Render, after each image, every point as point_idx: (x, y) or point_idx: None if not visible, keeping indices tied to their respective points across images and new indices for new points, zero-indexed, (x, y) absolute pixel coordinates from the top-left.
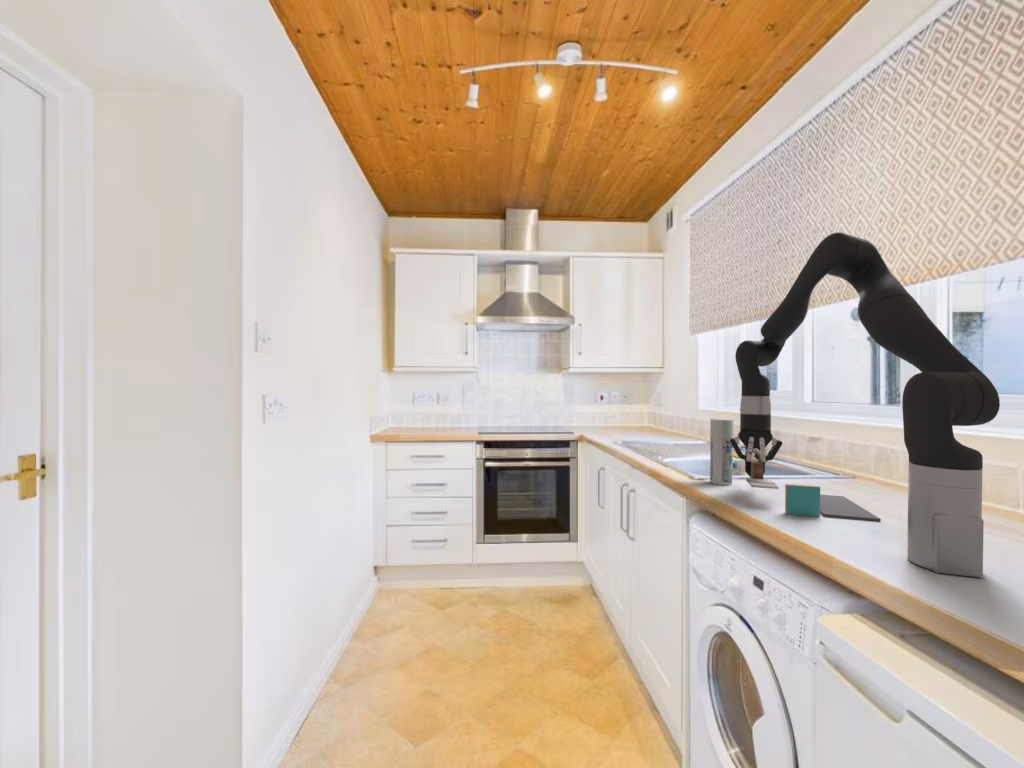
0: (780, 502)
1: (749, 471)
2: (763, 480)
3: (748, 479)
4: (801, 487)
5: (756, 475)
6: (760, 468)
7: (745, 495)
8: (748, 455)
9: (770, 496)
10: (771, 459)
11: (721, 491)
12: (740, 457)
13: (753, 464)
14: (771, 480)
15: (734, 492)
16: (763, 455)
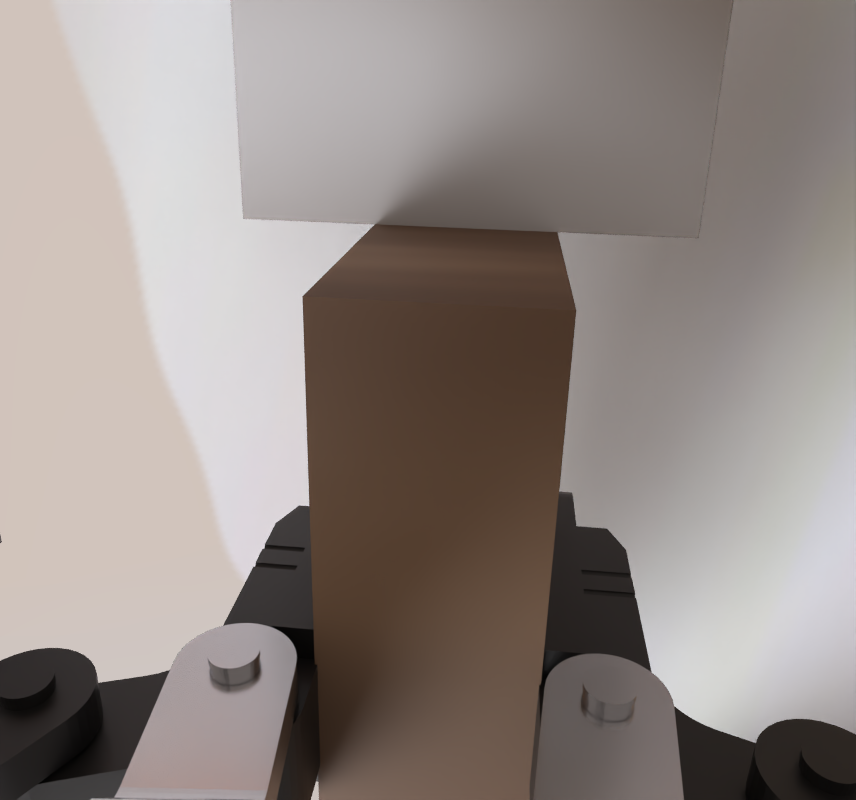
0: (227, 89)
1: (563, 519)
2: (399, 83)
3: (692, 93)
4: None
5: (497, 245)
6: (400, 270)
7: (590, 363)
8: (627, 790)
9: (292, 396)
10: (25, 666)
11: (846, 501)
12: (849, 750)
13: (574, 315)
14: (244, 141)
15: (686, 489)
16: (182, 767)
